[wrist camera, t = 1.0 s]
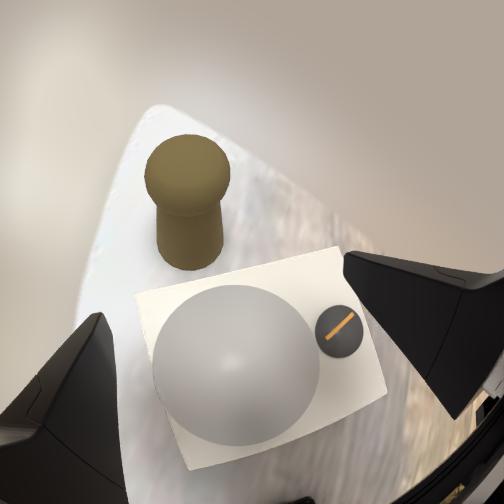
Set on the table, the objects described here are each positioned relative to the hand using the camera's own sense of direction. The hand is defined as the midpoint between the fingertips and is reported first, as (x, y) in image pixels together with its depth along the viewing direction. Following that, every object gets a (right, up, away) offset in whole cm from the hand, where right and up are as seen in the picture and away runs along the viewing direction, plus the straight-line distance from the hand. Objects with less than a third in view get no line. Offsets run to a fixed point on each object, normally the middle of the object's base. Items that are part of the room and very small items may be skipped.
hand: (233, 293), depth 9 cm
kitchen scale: (+1, -7, +12) cm, 14 cm away
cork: (-5, +3, +15) cm, 16 cm away
